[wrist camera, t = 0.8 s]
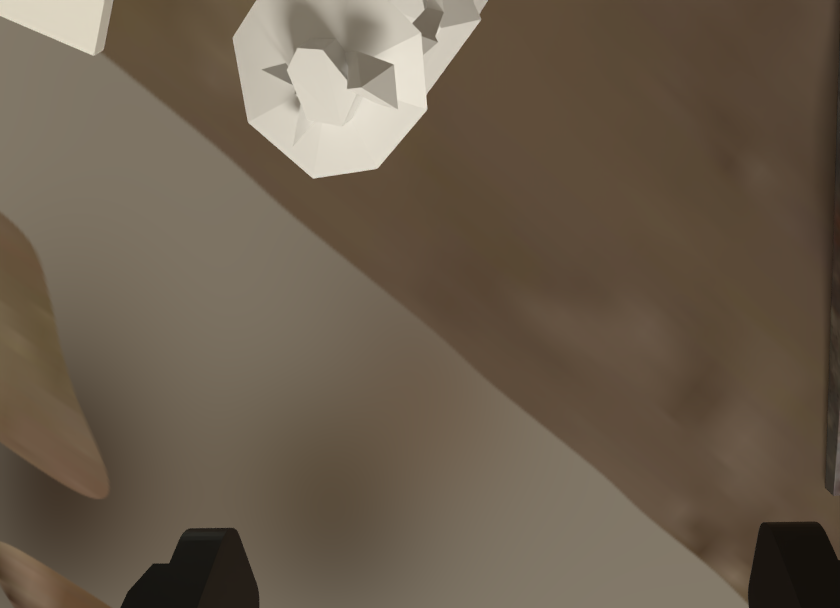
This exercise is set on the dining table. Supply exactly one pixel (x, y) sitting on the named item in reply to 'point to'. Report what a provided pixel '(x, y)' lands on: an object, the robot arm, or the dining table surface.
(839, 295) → the hand plane
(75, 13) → the socket holder
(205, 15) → the dining table surface
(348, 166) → the figurine
